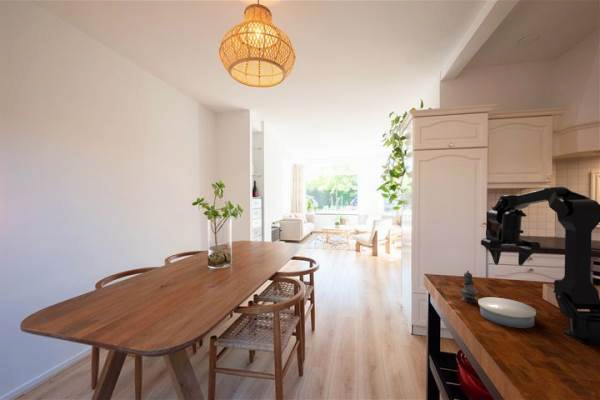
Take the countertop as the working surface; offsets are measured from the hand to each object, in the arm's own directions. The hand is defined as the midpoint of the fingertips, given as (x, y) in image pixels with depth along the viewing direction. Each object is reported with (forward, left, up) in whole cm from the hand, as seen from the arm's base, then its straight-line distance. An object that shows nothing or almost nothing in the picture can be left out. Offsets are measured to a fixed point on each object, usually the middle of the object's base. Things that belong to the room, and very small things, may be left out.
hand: (508, 264), depth 95 cm
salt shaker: (0, +15, -14) cm, 21 cm away
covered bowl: (-15, +11, -14) cm, 23 cm away
